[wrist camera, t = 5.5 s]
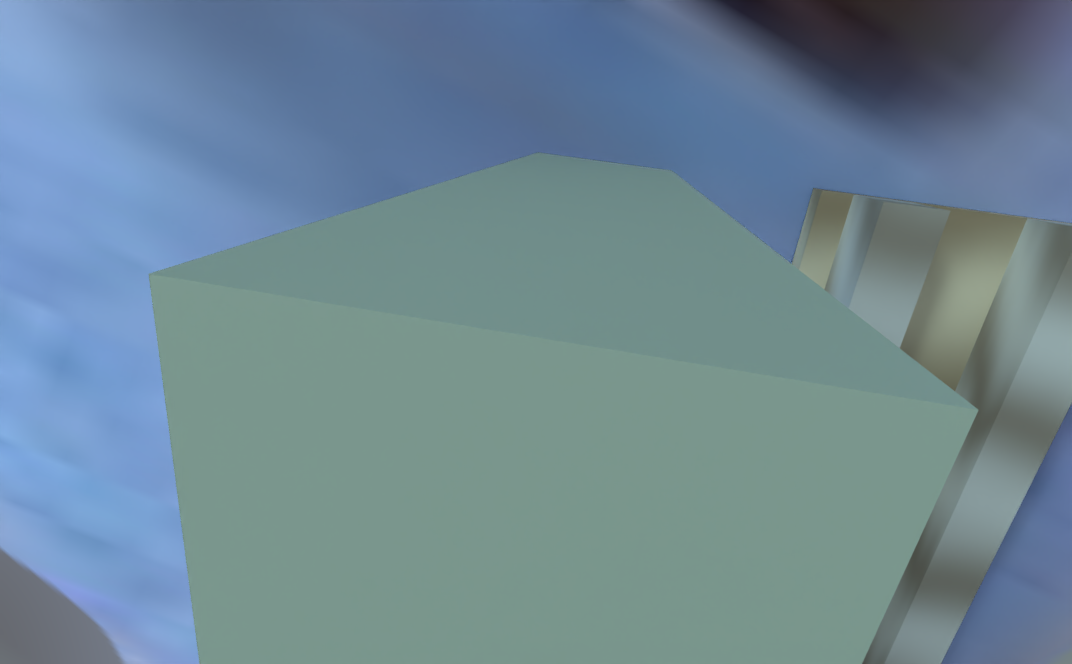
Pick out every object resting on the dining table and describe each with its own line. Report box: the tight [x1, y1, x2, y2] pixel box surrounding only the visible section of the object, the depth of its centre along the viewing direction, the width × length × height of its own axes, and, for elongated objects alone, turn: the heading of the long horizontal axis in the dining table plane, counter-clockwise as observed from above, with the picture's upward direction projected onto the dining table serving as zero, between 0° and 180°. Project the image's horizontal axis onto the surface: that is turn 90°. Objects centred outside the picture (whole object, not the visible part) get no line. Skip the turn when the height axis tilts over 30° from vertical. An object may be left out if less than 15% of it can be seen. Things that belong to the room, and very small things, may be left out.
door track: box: [792, 188, 1072, 664], centre depth 23 cm, size 26×10×4 cm, turn 173°
